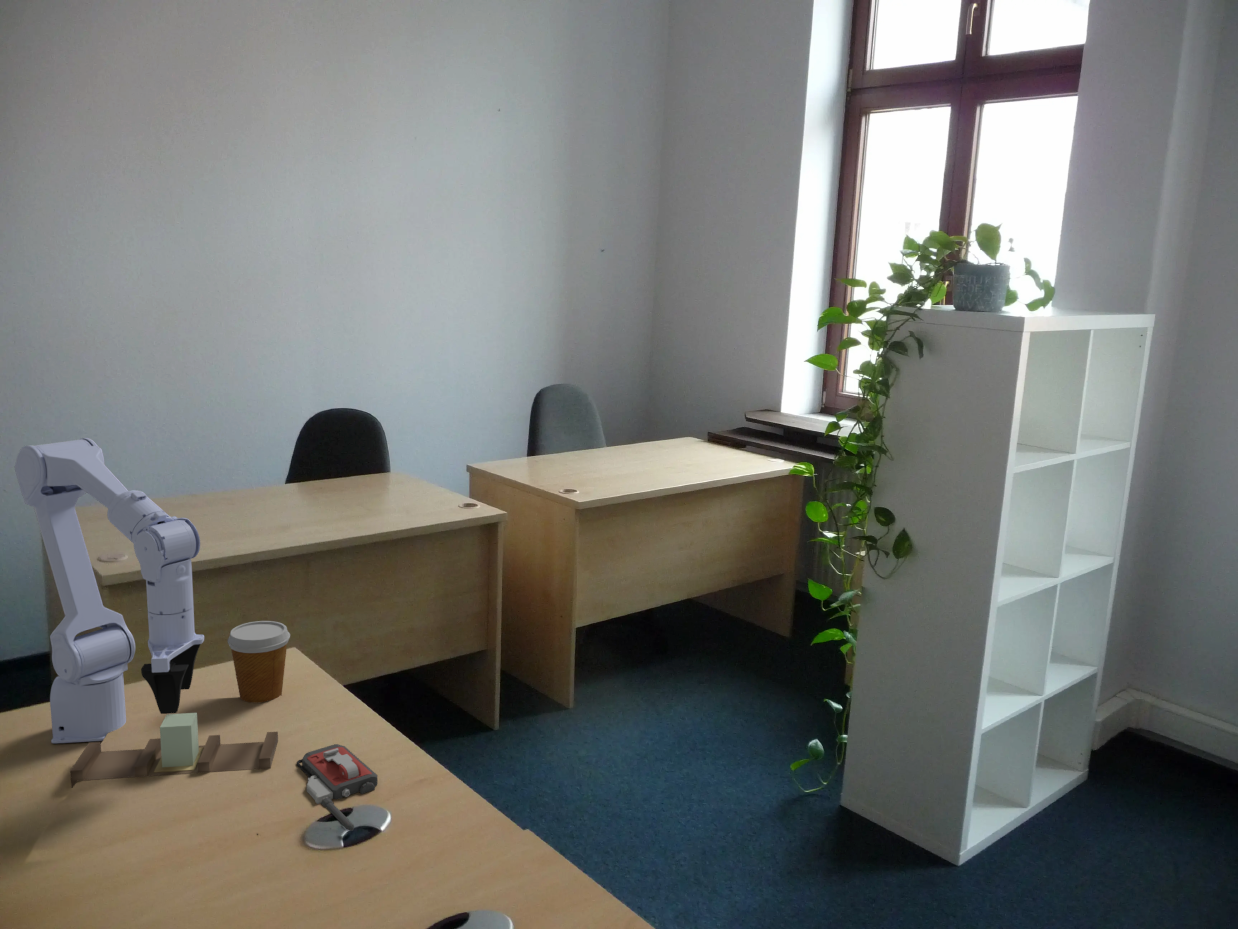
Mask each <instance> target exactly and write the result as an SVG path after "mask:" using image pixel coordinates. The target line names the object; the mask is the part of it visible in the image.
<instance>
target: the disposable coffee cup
mask: <svg viewBox="0 0 1238 929" xmlns="http://www.w3.org/2000/svg"><path fill="white" fill-rule="evenodd" d="M290 639H291V633H290V632H289V630H288V627H287V625H285V624H284V623H282V622H280V621H279V622H278V621H273V620H259V621H258V620H256V621H249V622H245V623H241V624H239V625H237V626H235V627H234V628H232V629H231V630H230V633H229V637H228V638H227V645H229V648H230V649H231V655H232V662H233V666H234V671H235V677H236V682H237V688H238V693H239V694H238V695H239V698H240V700H242V701H244V702H247V703H255V704H256V703H265V702H270V701H272V700H275V699H277V698H279V697H280V696H282V694H283V685H284V676H285V666H286V658H287V657H286V656H287V649H288V648H287V645H288V643H289V640H290Z"/></svg>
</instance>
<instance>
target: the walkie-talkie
mask: <svg viewBox="0 0 1238 929" xmlns="http://www.w3.org/2000/svg"><path fill="white" fill-rule="evenodd" d="M296 766H297V767H298V768H299V769H300V770H301V771H302V772H303V773H304V774H305V775H306V776H307V783H306V792H307V793H308V794H309V795H310V796H311V798H313V800H314V803H316V805H318V804H321V805H322V806H323V807H324V808H326V809H327V811H329V812H330V813H331V814H332V816H334V817H335V819H336V820H337V821H338V822H340V824H341V825H342V826H343V827H344V828H345V829H346V830H347V831H351V832H353V831H354V829H355V825H354V823H353V822H351V820H349V819H348V817H347V816H346V815H345V814H344V813H343V812H342V811H341V810H340V809H339V808H338V807H337V806H336V805H335V803H334V802H333V800H339V799H340V800H341V799H342V798H346V797H347V798H348V797H349V796H351V795H353V794H357V793H360V795H363V794H365V793H368V792H373V791H375V790H376V787H377V786H378V774H377V773H376V772H374V771H373V770H372V769H371V768H370V767H369V766H368V765H367V764H366V763H364V761H362V760H361V759H359V757H357V756H356V754H354V753H353V751H351V750H350V749H348V748H347V747H346V746H345V745H342V744H338V743H335V744H334V743H333V744H331V745H328V746H325V747H321V748H318V749H315V750H310V751H308V752H306V753H305V754H304V755H303V757H302V758H301V759H299V760H297V761H296Z"/></svg>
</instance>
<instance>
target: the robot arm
mask: <svg viewBox="0 0 1238 929" xmlns="http://www.w3.org/2000/svg"><path fill="white" fill-rule="evenodd" d="M105 464H106V462H105V457H104V451H103V449H102V448H101V447H99V445H97V443H96V442H95V441H94V440H93V439H91V438H89V437H84V438H83V437H82V438H79V439H73V440H66V441H58V442H57V441H56V442H51V443H43V444H36V445H32V444H30V445H29V444H28V445H24V446H22V447H21V448H20V450H19V451H18V453H17V455H16V460H15V464H14V473H15V476H16V479H17V482H18V486H19V490H20V492H21V495H22V499H23V501H24V504H25V505H27V506H30V507H32V508H33V509H34V513H35V517H36V520H37V524H38V527H39V531H40V534H41V538H42V541H43V545H44V547H45V551H46V555H47V558H48V562H49V565H50V569H51V571H52V575H53V578H54V582H55V586H56V589H57V592H58V596H59V599H60V603H61V606H62V610H63V613H64V617H63V619H62V620H61V621H60V623H59V624H58V625H57V626H56V627H55V629H54V630H53V631H52V633H51V634H50V635H49V638H50V644H51V661H52V666H53V670H54V671H55V673H56V674H57V676H56V677H55V678H54V680H53V682H52V685H51V688H50V694H49V705H50V706H49V707H50V718H51V729H52V732H51V733H52V738H51V744H70V743H71V744H72V743H85V742H88V743H90V742H102V741H104V739H105V738H106V737H107V735H108V733H109V734H110V733H112V732H114V731H117V730H119V729H120V728H122V727H124V725H125V724H126V722H127V713H126V712H127V711H126V698H125V683H124V682H125V681H124V672H126V671H128V670H129V669H128V668H129V666H128V664H129V663H130V662H132V661H133V659H134V657H135V653H136V642H135V638H134V635H133V633H132V632H131V631H130V630H129V628H128V626H127V624H126V622H125V619H124V615H123V614H122V613H119V612H117V611H115V610H113V609H110V608H107V607H106V606H104V605H103V604H104V603H103V601H102V597H101V594H100V591H99V587H98V583H97V580H96V576H95V573H94V569H93V566H92V562H91V559H90V554H89V551H88V549H87V545H86V542H85V538H84V535H83V531H82V528H81V524H80V522H79V517H78V515H77V511H76V504H77V502H78V499H80V498H81V497H83V496H84V495H86V494H88V495H89V496H90V497H92V498H93V499H95V500H96V501H98V502H99V503H100V504H102V505H103V506H104V507H105V508H107V515H106V516H107V520H108V522H109V523H111V525H113V526H114V527H115V529H117V530H118V531H119V532H121V534H123V535H124V536H125V537H126V538H127V539H128V540H129V541H130V542H131V543H132V544H133V551H134V554H135V556H136V559H137V561H138V563H139V565H140V575H142V579H143V580H145V586H146V601H147V603H146V604H147V621H148V623H147V624H148V640H147V646H148V649H149V652H150V654H151V659H150V662H151V663H144V664H143V665H142V667H141V669H140V672H141V676H142V678H143V679H144V680H145V681H146V682H147V684H148V685H149V687H150V688H151V691H152V693H153V696H154V699H155V702H156V705H157V708H158V711H159V713H160V714H161V715H165V714H166V715H167V714H178V712H179V711H178V710H179V707H180V701H181V694H182V693H181V692H182V690H183V691H184V690H190V689H191V685H192V680H193V676H194V668H195V663H196V659H197V655H198V651H199V650H200V647H201V645H202V644H203V643H204V642H205V635H204V634H197V633H196V632H195V630H196V629H195V614H194V613H195V606H194V588H193V587H194V586H193V585H194V584H193V567H192V559H195V558H196V557H197V555H199V553H200V550H201V538H200V534H199V531H198V529H197V528H196V525H195V524H193V522H192V521H191V520H190V519H189V518H187V517H177V516H176V515H175V516H171V515H169V514H168V513H167V512H165V510H163V508H161V507H160V506H159V505H158V504H156V502H154V501H153V500H152V499H151V498H150V497H148V495H147V494H146V493H145V492H144V491H142V490H137V489H136V490H135V489H133V490H128V489H127V487H125V485H123V483H122V482H121V481H120V480H119V479H118V478H117V476H115V475H114V473H113V472H112V471H111V470H110V469H109V468H108V467H107V466H106V465H105ZM95 628H101V629H97V630H94V631H91V632H87V633H84V634H81V635H78V634H80V633H82V632H85V631H87V630H92V629H95ZM77 635H78V636H77Z"/></svg>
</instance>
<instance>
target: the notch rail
mask: <svg viewBox="0 0 1238 929" xmlns="http://www.w3.org/2000/svg"><path fill="white" fill-rule="evenodd" d="M101 742H102V741H90V742H88V744H87V745H86V746H85V748H84V749H83V751H82V752H81V753H80V755H79V757H78V758H77V760H76V761H75V763H74V765H73V766H72V767H71V769H70V770H69V772H70V775H69V776H70V785H71V786H70V787H71V789H72V788H74V787H75V784H76V783H77V782H79V781H80V782H82V781H83V782H84V781H85V782H86V781H99V780H100V781H101V780H110V779H111V780H113V779H127V778H128V779H129V778H141V777H142V778H144V777H159V776H161V777H162V776H174V775H176V776H177V775H188V774H189V775H191V774H203V773H205V774H206V773H218V772H219V773H220V772H222V773H223V772H233V771H237V772H238V771H248V770H249V771H252V770H264V769H265V770H267V769H271V768H272V765H273V761H274V757H275V754H276V750H277V747H278V743H279V731H266V734H265V738H264V740H263V741H258V742H257V741H256V742H255V741H254V742H238V743H224V744H222V743H221V735H220V734H215V735H208V737H207V740H206V742H205V744H204V745H199V752H198V755H197V757H196V760H195V762H194V764H193V765H191V766H177V767H162V755H161V738H160V737H159V738H149V739H148V742H147V743H146V745H145V747H144V748H143V749H142V748H139V749H126V750H125V749H124V750H121V749H120V750H107V751H106V750H105V751H102V748H101V747H102V745H101Z"/></svg>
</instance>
